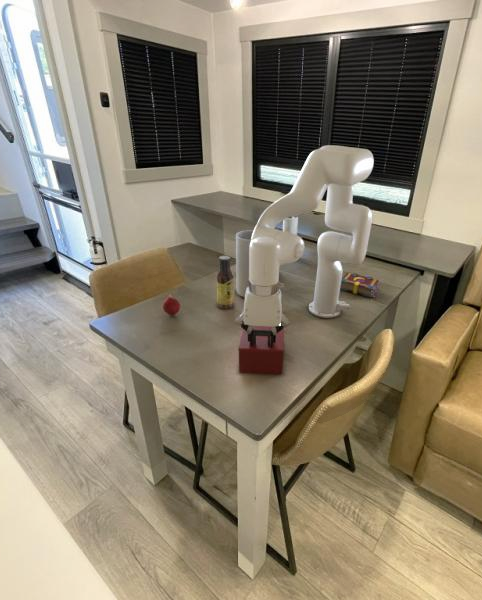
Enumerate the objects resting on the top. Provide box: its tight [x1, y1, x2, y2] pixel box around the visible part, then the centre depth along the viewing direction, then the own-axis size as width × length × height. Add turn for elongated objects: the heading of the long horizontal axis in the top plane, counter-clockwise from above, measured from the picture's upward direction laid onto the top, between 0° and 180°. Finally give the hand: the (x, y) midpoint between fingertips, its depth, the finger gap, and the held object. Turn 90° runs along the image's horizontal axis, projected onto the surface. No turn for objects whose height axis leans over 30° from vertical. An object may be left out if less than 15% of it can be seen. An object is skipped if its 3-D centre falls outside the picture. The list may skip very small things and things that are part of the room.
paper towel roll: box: [282, 216, 299, 236], centre depth 173 cm, size 7×6×21 cm
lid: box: [237, 321, 285, 353], centre depth 97 cm, size 16×13×6 cm
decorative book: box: [340, 272, 380, 299], centre depth 148 cm, size 11×16×5 cm
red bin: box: [238, 350, 285, 375], centre depth 101 cm, size 15×13×9 cm
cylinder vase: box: [235, 229, 254, 298], centre depth 134 cm, size 12×12×25 cm
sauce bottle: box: [216, 255, 235, 309], centre depth 124 cm, size 6×6×20 cm
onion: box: [162, 294, 181, 316], centre depth 119 cm, size 6×6×8 cm
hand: (261, 342), depth 93 cm, fingers closed on lid, 5 cm apart
